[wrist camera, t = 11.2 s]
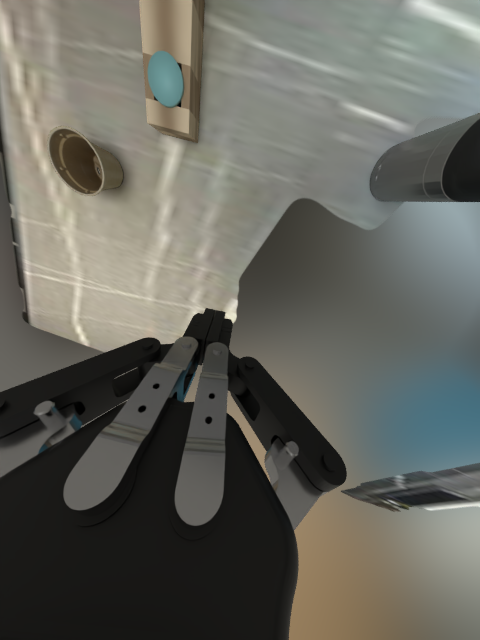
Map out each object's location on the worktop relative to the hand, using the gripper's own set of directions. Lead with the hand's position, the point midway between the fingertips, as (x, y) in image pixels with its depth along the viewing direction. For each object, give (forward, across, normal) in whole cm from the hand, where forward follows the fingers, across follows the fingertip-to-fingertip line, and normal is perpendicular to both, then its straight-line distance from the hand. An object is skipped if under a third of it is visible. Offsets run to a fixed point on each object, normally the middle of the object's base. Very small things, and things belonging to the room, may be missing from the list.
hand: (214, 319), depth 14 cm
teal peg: (+37, +16, -20) cm, 45 cm away
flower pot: (+37, +31, -7) cm, 49 cm away
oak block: (+37, +16, -25) cm, 47 cm away
